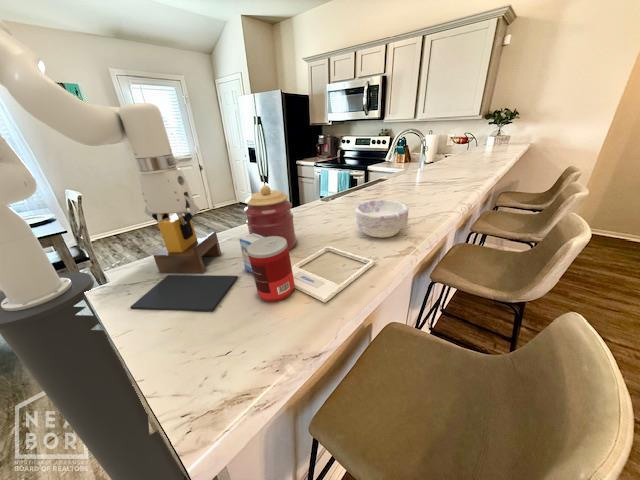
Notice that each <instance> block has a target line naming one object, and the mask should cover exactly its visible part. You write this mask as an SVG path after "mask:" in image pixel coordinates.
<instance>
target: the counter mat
mask: <svg viewBox="0 0 640 480" xmlns="http://www.w3.org/2000/svg"><path fill="white" fill-rule="evenodd" d="M237 279H238V275H211V274H210V275H205V274H203V275H197V274H195V275H192V274H190V275H189V274H187V275H186V274H182V275H181V274H168V275H166V276H165V277H164V278H163V279H161V280H160V281H159V282H158V283H157V284H155V285H154V286H153V287H152V288H151V289H149V290H148V292H146V293H145V294H144V295H143V296H141V297H140V298H139V299H137V301H135V302H134V303H133V304H131V306H129V308H130V310H142V311H143V310H144V311H145V310H146V311H147V310H148V311H177V312H178V311H180V312H211V313H213V312H214V311H215V310H216V308H217V307H218V306H219V304H220V303H221V301H222V300H223V299H224V297H225V296H226V295H227V293H228V292H229V290H230V289H231V288H232V286H233V285H234V283H235V282H236V281H237Z"/></svg>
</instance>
